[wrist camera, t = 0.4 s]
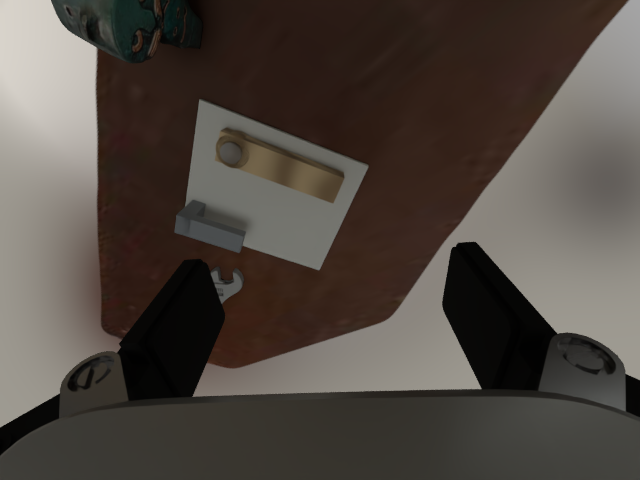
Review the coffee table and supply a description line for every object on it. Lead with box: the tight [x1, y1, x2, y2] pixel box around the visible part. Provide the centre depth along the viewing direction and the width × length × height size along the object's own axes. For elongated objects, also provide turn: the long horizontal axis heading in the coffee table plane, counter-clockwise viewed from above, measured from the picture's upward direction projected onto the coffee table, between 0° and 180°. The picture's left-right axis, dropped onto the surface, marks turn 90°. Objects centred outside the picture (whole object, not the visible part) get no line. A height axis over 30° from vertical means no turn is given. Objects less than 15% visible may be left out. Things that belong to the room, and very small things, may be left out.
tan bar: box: [215, 127, 344, 203], centre depth 38 cm, size 17×4×4 cm, turn 69°
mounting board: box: [175, 99, 369, 270], centre depth 41 cm, size 20×24×6 cm
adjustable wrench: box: [210, 267, 244, 304], centre depth 57 cm, size 25×6×2 cm, turn 149°
